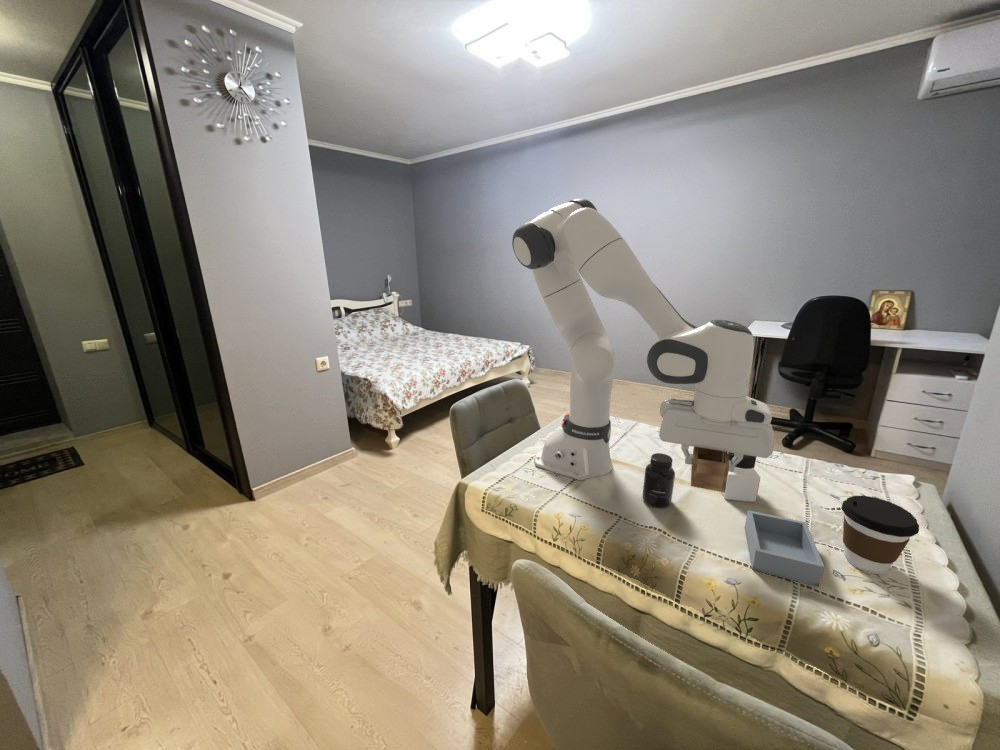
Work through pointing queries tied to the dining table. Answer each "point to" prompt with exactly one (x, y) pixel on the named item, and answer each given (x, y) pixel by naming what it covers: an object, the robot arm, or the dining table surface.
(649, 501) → the supplement bottle
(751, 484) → the medicine bottle
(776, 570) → the grey crate
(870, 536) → the coffee cup
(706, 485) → the walnut crate
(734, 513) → the dining table surface
